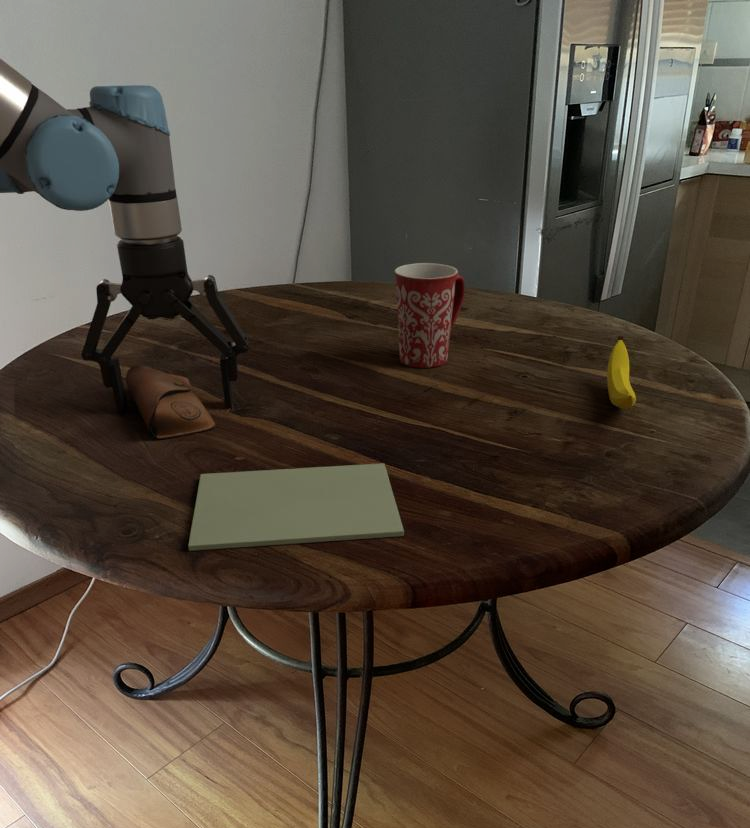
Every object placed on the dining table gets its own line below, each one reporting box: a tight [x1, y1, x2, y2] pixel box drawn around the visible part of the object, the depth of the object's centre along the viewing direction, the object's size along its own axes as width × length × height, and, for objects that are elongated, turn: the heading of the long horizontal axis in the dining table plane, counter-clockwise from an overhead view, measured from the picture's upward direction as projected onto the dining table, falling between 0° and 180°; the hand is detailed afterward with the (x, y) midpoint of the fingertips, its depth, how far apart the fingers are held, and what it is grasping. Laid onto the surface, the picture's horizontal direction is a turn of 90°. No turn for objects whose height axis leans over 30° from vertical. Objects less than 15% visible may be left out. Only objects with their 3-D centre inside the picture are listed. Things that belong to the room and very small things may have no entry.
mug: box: [393, 262, 466, 369], centre depth 109 cm, size 13×9×14 cm
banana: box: [606, 335, 637, 410], centre depth 95 cm, size 3×19×6 cm, turn 168°
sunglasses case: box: [125, 364, 216, 440], centre depth 95 cm, size 18×7×7 cm
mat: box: [187, 462, 405, 552], centre depth 74 cm, size 20×14×1 cm
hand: (176, 407), depth 96 cm, fingers open, 13 cm apart
